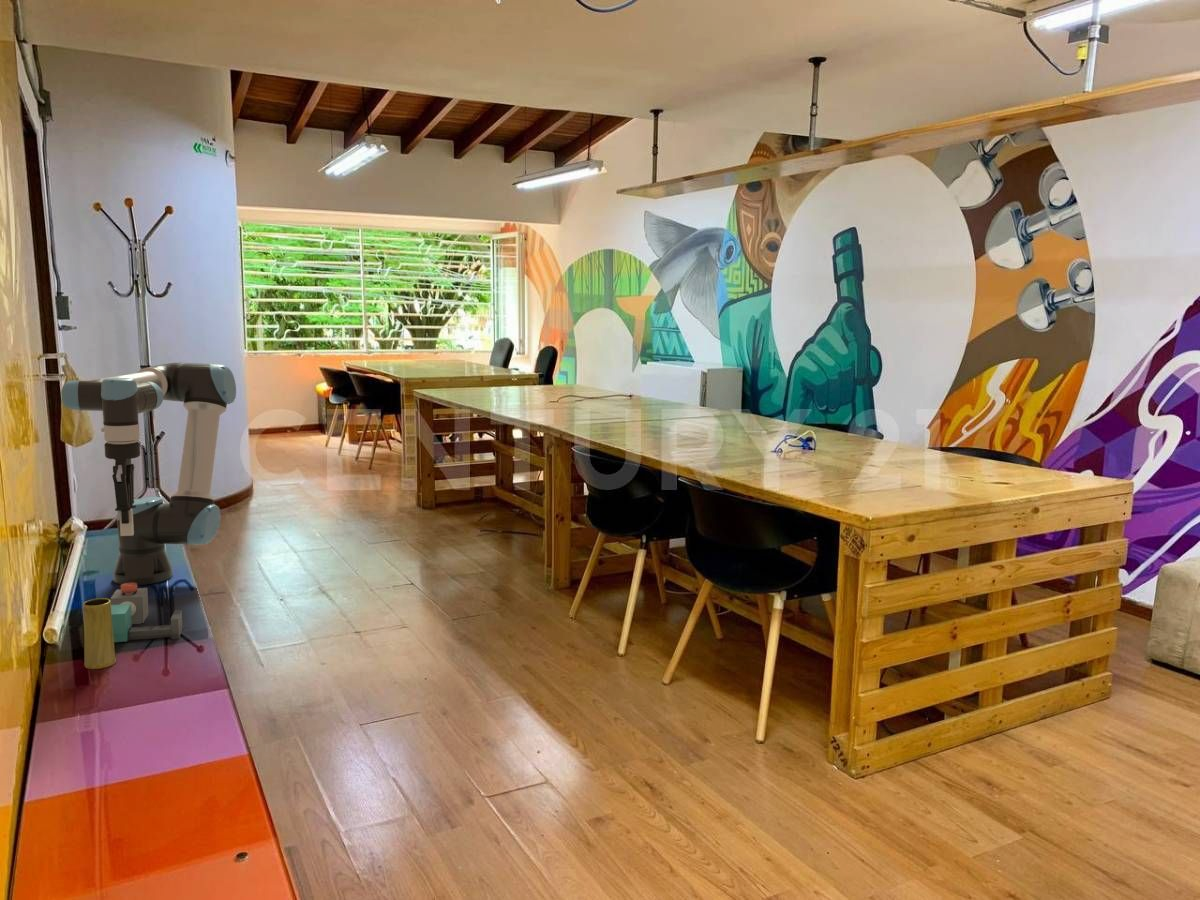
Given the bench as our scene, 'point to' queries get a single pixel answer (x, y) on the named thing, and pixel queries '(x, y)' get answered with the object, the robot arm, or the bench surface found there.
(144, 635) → the rail
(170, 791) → the bench surface
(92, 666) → the vase
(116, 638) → the block
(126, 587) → the red ball knob
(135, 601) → the grey cube housing
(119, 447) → the robot arm
